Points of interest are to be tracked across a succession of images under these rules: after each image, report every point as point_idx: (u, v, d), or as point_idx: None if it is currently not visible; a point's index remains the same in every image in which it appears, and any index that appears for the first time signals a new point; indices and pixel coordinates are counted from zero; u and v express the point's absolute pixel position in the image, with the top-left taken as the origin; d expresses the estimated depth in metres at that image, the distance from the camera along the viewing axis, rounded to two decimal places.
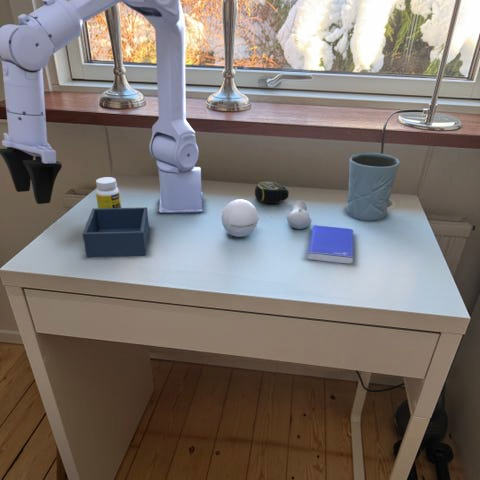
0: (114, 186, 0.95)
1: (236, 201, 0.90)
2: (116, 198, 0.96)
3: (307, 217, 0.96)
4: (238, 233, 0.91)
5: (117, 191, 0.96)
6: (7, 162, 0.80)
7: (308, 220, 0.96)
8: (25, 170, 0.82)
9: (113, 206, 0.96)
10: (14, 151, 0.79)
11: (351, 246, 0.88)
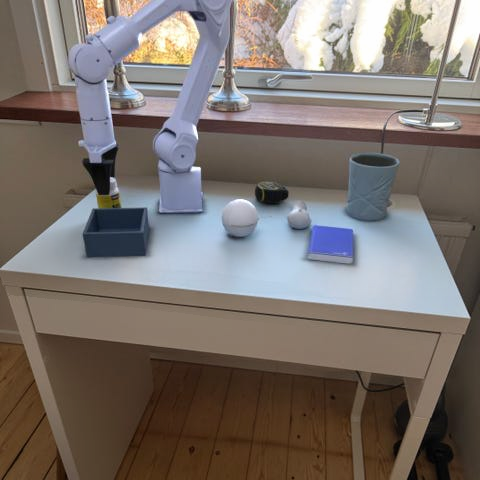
0: (114, 186, 0.95)
1: (236, 201, 0.90)
2: (116, 198, 0.96)
3: (307, 217, 0.96)
4: (238, 233, 0.91)
5: (117, 191, 0.96)
6: None
7: (308, 220, 0.96)
8: None
9: (113, 206, 0.96)
10: None
11: (351, 246, 0.88)
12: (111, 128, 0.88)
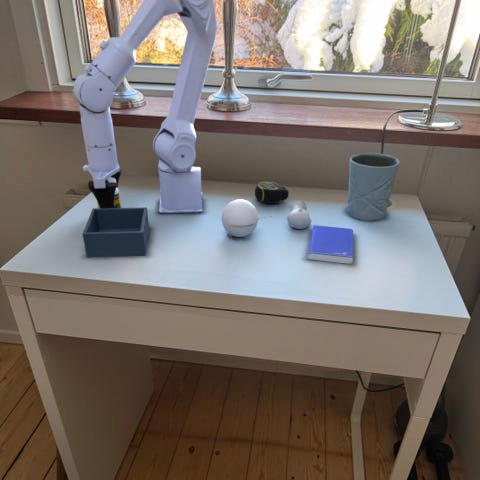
0: None
1: (236, 201, 0.90)
2: (115, 198, 0.96)
3: (307, 217, 0.96)
4: (238, 233, 0.91)
5: (117, 191, 0.96)
6: None
7: (308, 220, 0.96)
8: None
9: None
10: None
11: (351, 246, 0.88)
12: (115, 154, 0.91)
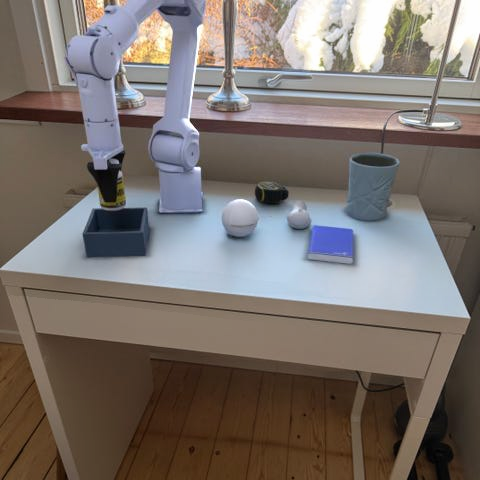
0: None
1: (236, 201, 0.90)
2: (118, 182, 0.84)
3: (307, 217, 0.96)
4: (238, 233, 0.91)
5: (120, 174, 0.84)
6: None
7: (308, 220, 0.96)
8: None
9: None
10: None
11: (351, 246, 0.88)
12: (118, 130, 0.79)
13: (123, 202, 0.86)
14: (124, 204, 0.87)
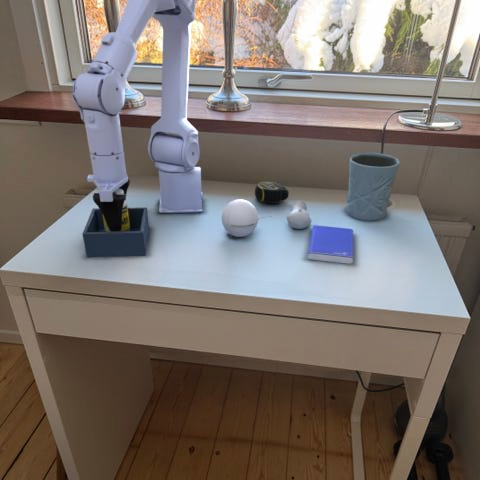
0: None
1: (236, 201, 0.90)
2: (123, 211, 0.86)
3: (307, 217, 0.96)
4: (238, 233, 0.91)
5: (125, 204, 0.86)
6: None
7: (308, 220, 0.96)
8: None
9: None
10: None
11: (351, 246, 0.88)
12: (123, 162, 0.81)
13: (128, 229, 0.88)
14: None
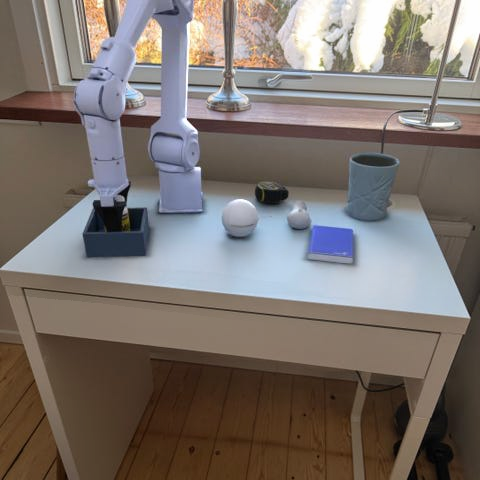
0: None
1: (236, 201, 0.90)
2: (124, 218, 0.86)
3: (307, 217, 0.96)
4: (238, 233, 0.91)
5: (126, 210, 0.86)
6: None
7: (308, 220, 0.96)
8: None
9: (122, 227, 0.87)
10: None
11: (351, 246, 0.88)
12: (123, 167, 0.82)
13: None
14: None
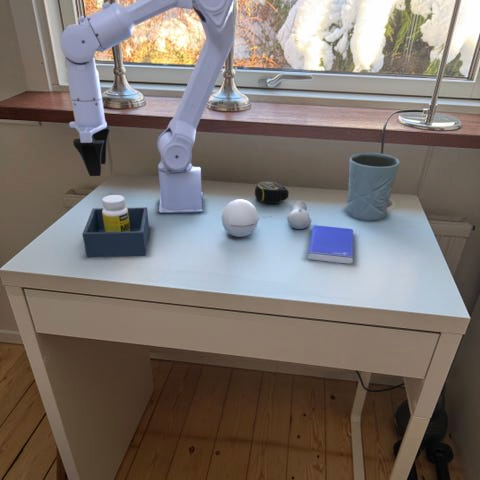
0: (122, 205, 0.85)
1: (236, 201, 0.90)
2: (124, 218, 0.86)
3: (307, 217, 0.96)
4: (238, 233, 0.91)
5: (126, 210, 0.86)
6: None
7: (308, 220, 0.96)
8: None
9: (122, 227, 0.87)
10: None
11: (351, 246, 0.88)
12: (101, 109, 0.90)
13: None
14: None
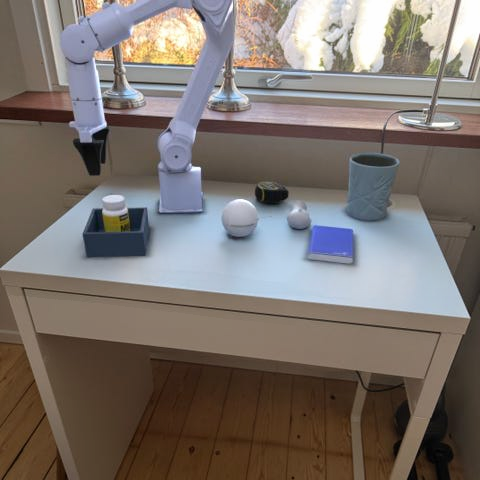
0: (122, 205, 0.85)
1: (236, 201, 0.90)
2: (124, 218, 0.86)
3: (307, 217, 0.96)
4: (238, 233, 0.91)
5: (126, 210, 0.86)
6: None
7: (308, 220, 0.96)
8: None
9: (122, 227, 0.87)
10: None
11: (351, 246, 0.88)
12: (101, 109, 0.90)
13: None
14: None
